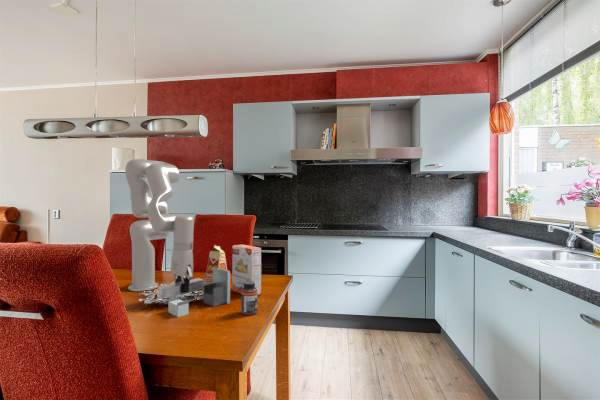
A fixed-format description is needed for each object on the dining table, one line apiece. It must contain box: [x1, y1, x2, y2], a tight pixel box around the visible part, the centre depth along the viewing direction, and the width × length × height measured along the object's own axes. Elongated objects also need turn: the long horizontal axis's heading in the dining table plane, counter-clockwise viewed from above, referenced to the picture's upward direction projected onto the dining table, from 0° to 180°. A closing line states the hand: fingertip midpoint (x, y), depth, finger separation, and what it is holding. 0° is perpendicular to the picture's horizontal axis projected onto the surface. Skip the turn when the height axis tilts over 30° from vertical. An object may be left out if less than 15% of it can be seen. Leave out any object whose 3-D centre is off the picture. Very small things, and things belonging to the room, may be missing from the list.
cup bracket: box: [202, 267, 231, 308], centre depth 126 cm, size 10×7×13 cm
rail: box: [157, 277, 205, 300], centre depth 127 cm, size 4×18×4 cm, turn 139°
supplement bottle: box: [240, 281, 259, 316], centre depth 115 cm, size 6×6×11 cm
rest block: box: [167, 295, 190, 318], centre depth 114 cm, size 7×4×5 cm, turn 49°
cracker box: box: [231, 243, 262, 296], centre depth 140 cm, size 14×6×21 cm, turn 47°
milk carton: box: [204, 244, 228, 285], centre depth 151 cm, size 9×9×20 cm
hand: (181, 290), depth 127 cm, fingers closed on rail, 4 cm apart
